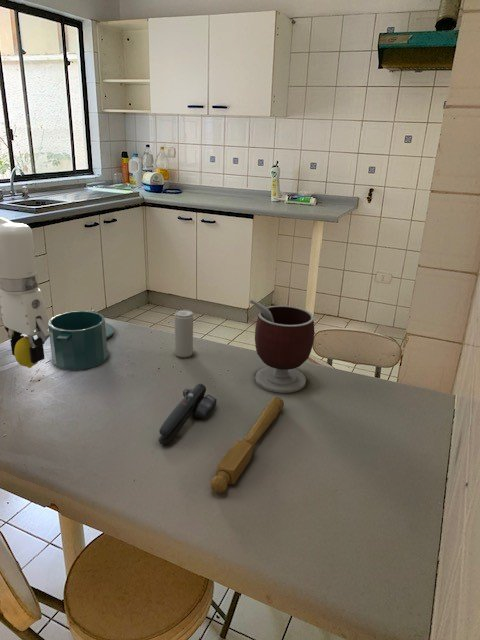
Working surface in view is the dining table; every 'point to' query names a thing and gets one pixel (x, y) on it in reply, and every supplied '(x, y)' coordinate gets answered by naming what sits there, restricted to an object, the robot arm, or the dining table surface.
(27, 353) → the lemon
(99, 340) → the pot
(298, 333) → the mate gourd
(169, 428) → the can opener
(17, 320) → the robot arm
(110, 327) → the lid
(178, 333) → the beverage can
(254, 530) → the dining table surface
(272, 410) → the tap handle
